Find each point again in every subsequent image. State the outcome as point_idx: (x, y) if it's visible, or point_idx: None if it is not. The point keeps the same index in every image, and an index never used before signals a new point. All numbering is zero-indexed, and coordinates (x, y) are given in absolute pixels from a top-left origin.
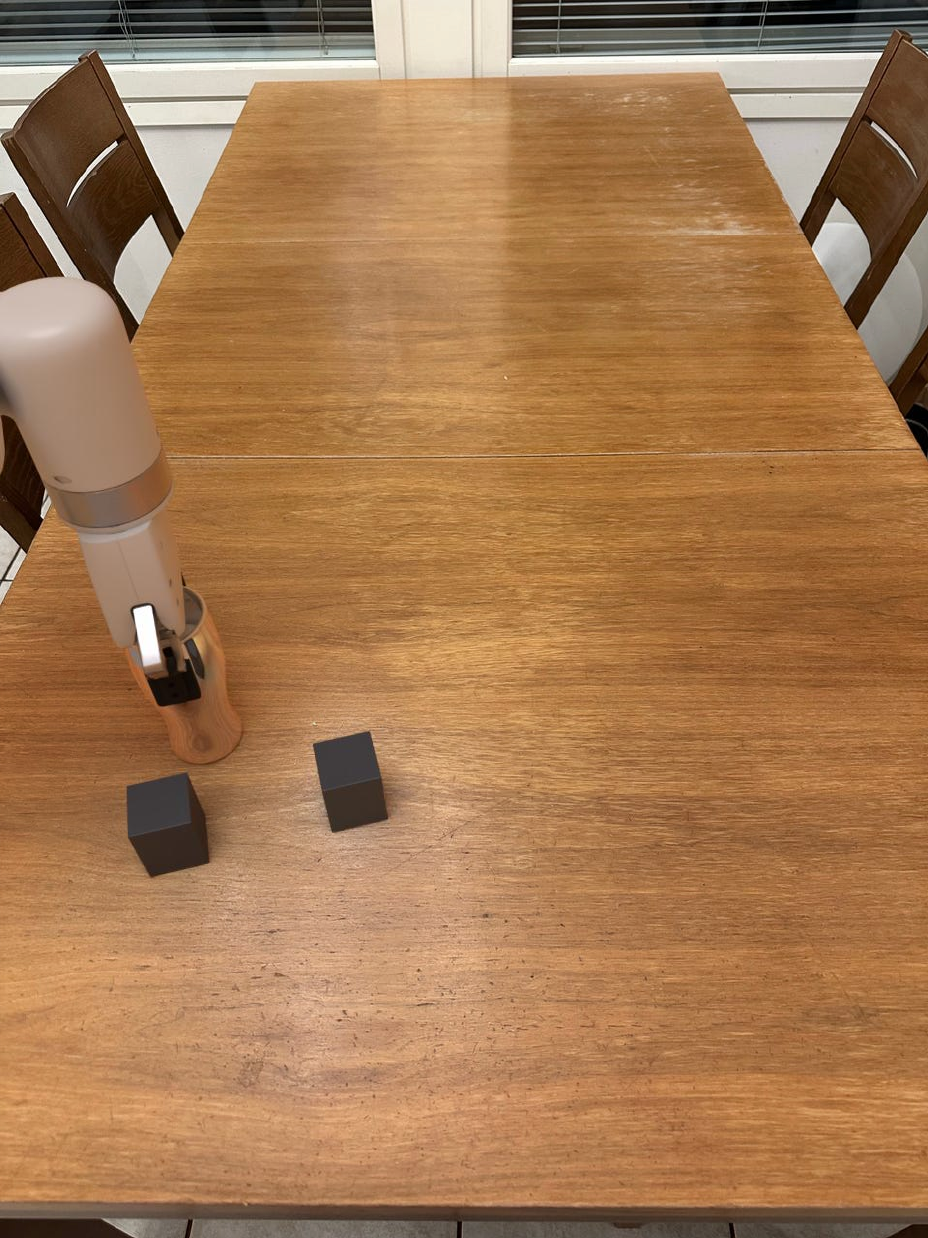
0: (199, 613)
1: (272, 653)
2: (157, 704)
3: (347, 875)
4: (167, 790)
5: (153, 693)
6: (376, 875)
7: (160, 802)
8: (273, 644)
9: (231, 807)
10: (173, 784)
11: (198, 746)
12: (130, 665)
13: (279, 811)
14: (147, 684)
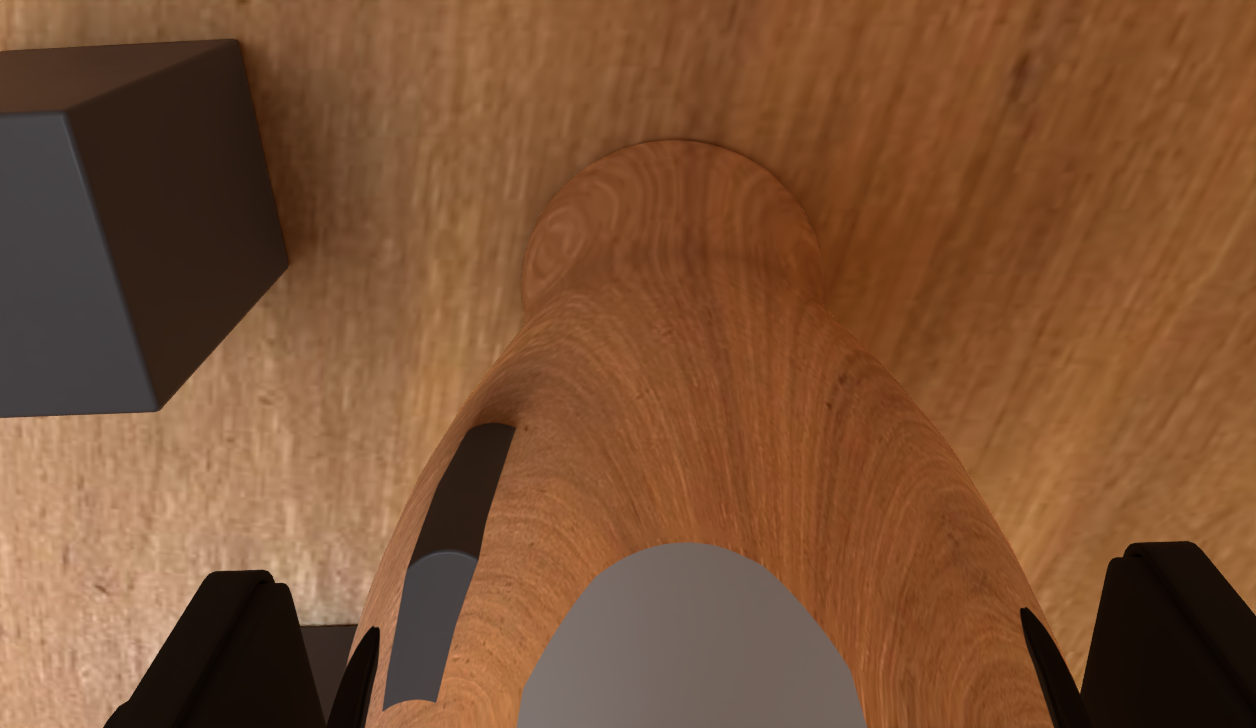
0: None
1: (1010, 531)
2: (205, 580)
3: (52, 648)
4: (41, 326)
5: (140, 685)
6: (55, 709)
7: None
8: (1055, 537)
9: (313, 357)
10: (83, 351)
11: (526, 316)
12: (495, 517)
13: (285, 501)
14: (407, 520)
